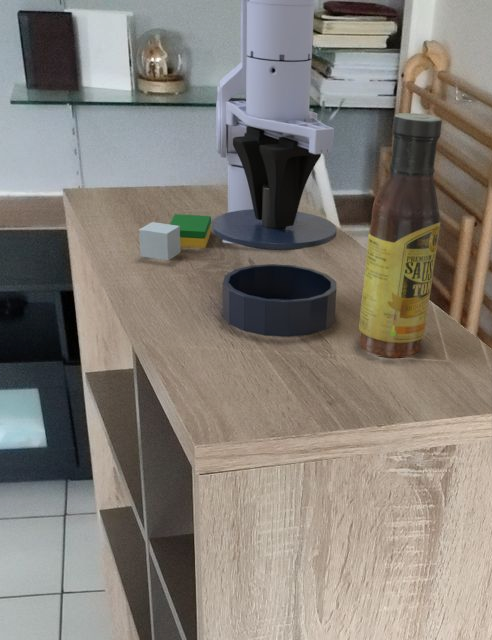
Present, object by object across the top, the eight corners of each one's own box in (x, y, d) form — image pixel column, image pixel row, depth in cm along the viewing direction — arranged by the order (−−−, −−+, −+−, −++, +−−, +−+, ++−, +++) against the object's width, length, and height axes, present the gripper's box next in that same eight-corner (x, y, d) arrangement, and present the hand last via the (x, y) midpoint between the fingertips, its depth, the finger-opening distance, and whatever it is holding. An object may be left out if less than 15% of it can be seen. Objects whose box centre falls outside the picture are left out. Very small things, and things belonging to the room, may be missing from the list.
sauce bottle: (403, 368, 83) (433, 126, 70) (345, 351, 85) (364, 115, 73) (433, 347, 87) (467, 116, 75) (377, 332, 90) (400, 106, 77)
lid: (206, 219, 91) (205, 170, 88) (323, 220, 93) (326, 172, 90) (216, 256, 82) (216, 201, 79) (347, 256, 84) (351, 203, 81)
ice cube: (153, 253, 106) (152, 221, 104) (180, 257, 106) (179, 225, 104) (140, 261, 104) (138, 229, 102) (168, 265, 103) (167, 233, 101)
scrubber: (175, 234, 113) (174, 213, 111) (211, 236, 113) (211, 216, 112) (168, 250, 107) (167, 229, 106) (205, 252, 108) (205, 231, 106)
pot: (228, 299, 95) (228, 261, 93) (333, 305, 95) (336, 267, 93) (218, 338, 86) (218, 297, 84) (334, 344, 87) (337, 304, 84)
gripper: (366, 67, 76) (353, 236, 84) (270, 45, 85) (266, 200, 93) (299, 70, 72) (292, 245, 81) (206, 47, 81) (208, 207, 90)
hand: (274, 222), depth 87 cm, fingers closed on lid, 2 cm apart
